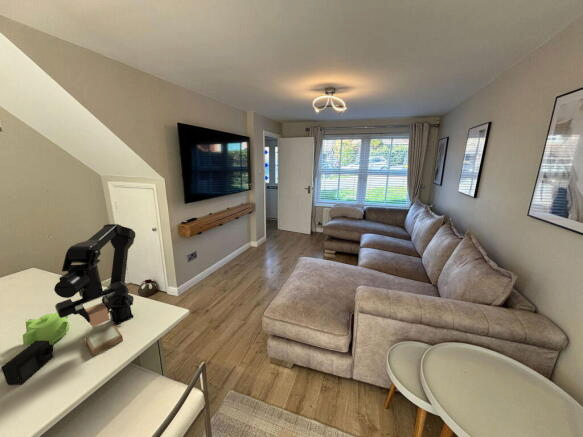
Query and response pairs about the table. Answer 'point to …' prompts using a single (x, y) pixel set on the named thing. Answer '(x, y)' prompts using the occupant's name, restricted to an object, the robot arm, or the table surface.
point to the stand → (103, 339)
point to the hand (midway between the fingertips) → (98, 317)
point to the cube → (97, 314)
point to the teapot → (45, 329)
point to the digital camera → (27, 362)
